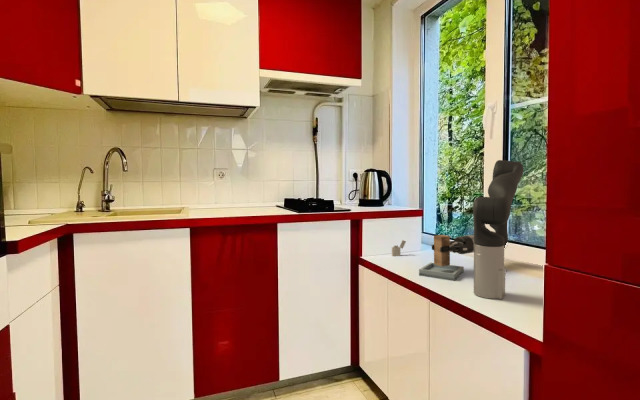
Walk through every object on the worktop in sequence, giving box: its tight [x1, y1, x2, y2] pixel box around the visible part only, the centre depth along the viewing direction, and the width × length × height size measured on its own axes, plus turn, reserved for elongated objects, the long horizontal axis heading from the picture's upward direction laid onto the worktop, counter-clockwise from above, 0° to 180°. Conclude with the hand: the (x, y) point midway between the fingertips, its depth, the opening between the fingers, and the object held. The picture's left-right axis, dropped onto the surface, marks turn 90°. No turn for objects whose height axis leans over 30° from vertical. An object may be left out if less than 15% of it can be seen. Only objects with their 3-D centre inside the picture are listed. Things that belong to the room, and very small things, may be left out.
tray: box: [418, 262, 465, 282], centre depth 144 cm, size 14×14×2 cm
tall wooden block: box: [433, 234, 451, 266], centre depth 144 cm, size 4×4×12 cm
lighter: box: [391, 239, 407, 257], centre depth 179 cm, size 7×2×8 cm, turn 96°
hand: (436, 248), depth 142 cm, fingers closed on tall wooden block, 4 cm apart
